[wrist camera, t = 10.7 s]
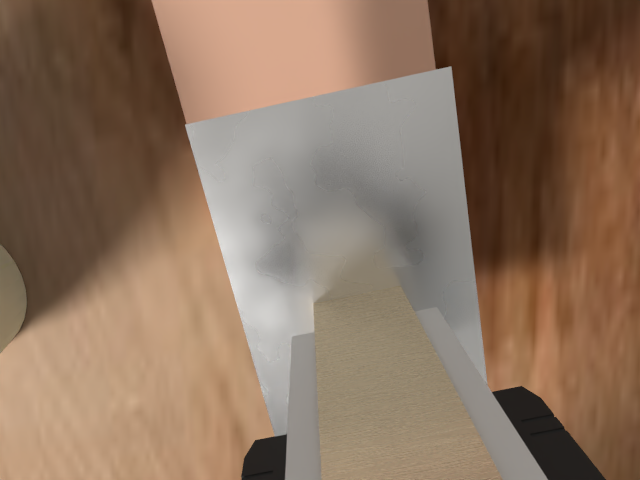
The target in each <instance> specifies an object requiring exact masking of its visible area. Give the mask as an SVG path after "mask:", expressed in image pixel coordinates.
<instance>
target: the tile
mask: <svg viewBox="0 0 640 480" xmlns="http://www.w3.org/2000/svg"><path fill="white" fill-rule="evenodd" d="M152 3H153V7H154V10H155V14H156V18H157V21H158V25H159V28H160V32H161V35H162V39H163V42H164V46H165V49H166V53H167V56H168V60H169V63H170V67H171V71H172V74H173V78H174V81H175V85H176V88H177V92H178V95H179V99H180V102H181V106H182V109H183V113H184V116H185V120H186V124H190V123H194V122H199V121H203V120H208V119H213V118H217V117H222V116H226V115H231V114H235V113H240V112H245V111H249V110H254V109H258V108H263V107H267V106H272V105H277V104H281V103H286V102H290V101H295V100H300V99H304V98H309V97H313V96H318V95H322V94H327V93H332V92H336V91H341V90H345V89H350V88H354V87H359V86H364V85H368V84H373V83H377V82H382V81H386V80H391V79H396V78H400V77H405V76H409V75H414V74H418V73H423V72H428V71H432V70H436V67H435V59H434V50H433V42H432V34H431V25H430V17H429V8H428V0H152Z"/></svg>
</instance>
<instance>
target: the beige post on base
mask: <svg viewBox="0 0 640 480" xmlns="http://www.w3.org/2000/svg"><path fill="white" fill-rule="evenodd" d="M185 127H186V130H187V134H188V137H189V141H190V144H191V148H192V151H193V155H194V158H195V162H196V165H197V168H198V172H199V175H200V179H201V182H202V186H203V189H204V193H205V196H206V200H207V203H208V206H209V210H210V213H211V217H212V220H213V224H214V227H215V231H216V234H217V238H218V241H219V244H220V248H221V251H222V255H223V258H224V262H225V265H226V269H227V272H228V276H229V279H230V282H231V286H232V289H233V293H234V296H235V300H236V303H237V307H238V310H239V314H240V317H241V320H242V324H243V327H244V331H245V334H246V338H247V341H248V345H249V348H250V351H251V355H252V358H253V362H254V365H255V369H256V372H257V376H258V379H259V383H260V386H261V389H262V393H263V396H264V400H265V403H266V407H267V410H268V414H269V417H270V421H271V424H272V427H273V431H274V434H275V436H280V435H285V434H287V427H288V406H289V384H290V363H291V342H292V336H297V335H302V334H307V333H312V332H315V352H316V373H317V393H318V414H319V435H320V455H321V476H322V480H503V479H502V477H501V475H500V473H499V472H498V470H497V468H496V466H495V464H494V462H493V460H492V458H491V456H490V454H489V453H488V451H487V449H486V447H485V445H484V443H483V441H482V439H481V437H480V435H479V433H478V432H477V430H476V428H475V426H474V424H473V422H472V420H471V418H470V416H469V414H468V413H467V411H466V409H465V407H464V405H463V403H462V401H461V399H460V397H459V395H458V393H457V392H456V390H455V388H454V386H453V384H452V382H451V380H450V378H449V376H448V374H447V373H446V371H445V369H444V367H443V365H442V363H441V361H440V359H439V357H438V355H437V354H436V352H435V350H434V348H433V346H432V344H431V342H430V340H429V338H428V336H427V334H426V333H425V331H424V329H423V327H422V325H421V323H420V321H419V319H418V317H417V315H416V314H415V311H420V310H424V309H429V308H434V307H437V308H438V309H439V311H440V313H441V314H442V316H443V317H444V319H445V320H446V322H447V323H448V325H449V327H450V328H451V330H452V331H453V333H454V334H455V336H456V337H457V339H458V341H459V342H460V344H461V345H462V347H463V348H464V350H465V351H466V353H467V355H468V356H469V358H470V359H471V361H472V362H473V364H474V365H475V367H476V369H477V370H478V372H479V373H480V375H481V376H482V378H483V379H484V381H485V383H486V384H487V377H486V368H485V359H484V350H483V342H482V333H481V324H480V315H479V306H478V297H477V288H476V280H475V271H474V262H473V253H472V244H471V235H470V227H469V218H468V209H467V200H466V191H465V182H464V173H463V165H462V156H461V147H460V138H459V129H458V120H457V112H456V103H455V94H454V85H453V76H452V67H451V66H450V67H446V68H441V69H437V70H432V71H428V72H423V73H418V74H414V75H409V76H405V77H400V78H396V79H391V80H386V81H382V82H377V83H373V84H368V85H364V86H359V87H354V88H350V89H345V90H341V91H336V92H332V93H327V94H322V95H318V96H313V97H309V98H304V99H300V100H295V101H290V102H286V103H281V104H277V105H272V106H267V107H263V108H258V109H254V110H249V111H245V112H240V113H235V114H231V115H226V116H222V117H217V118H213V119H208V120H203V121H199V122H194V123H190V124H185Z"/></svg>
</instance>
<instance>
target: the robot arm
mask: <svg viewBox="0 0 640 480" xmlns="http://www.w3.org/2000/svg"><path fill="white" fill-rule="evenodd" d="M415 314H416V315H417V317H418V319H419V321H420V323H421V325H422V327H423V329H424V331H425V333H426V334H427V336H428V338H429V340H430V342H431V344H432V346H433V348H434V350H435V352H436V354H437V355H438V357H439V359H440V361H441V363H442V365H443V367H444V369H445V371H446V373H447V374H448V376H449V378H450V380H451V382H452V384H453V386H454V388H455V390H456V392H457V393H458V395H459V397H460V399H461V401H462V403H463V405H464V407H465V409H466V411H467V413H468V414H469V416H470V418H471V420H472V422H473V424H474V426H475V428H476V430H477V432H478V433H479V435H480V437H481V439H482V441H483V443H484V445H485V447H486V449H487V451H488V453H489V454H490V456H491V458H492V460H493V462H494V464H495V466H496V468H497V470H498V472H499V473H500V475H501V477H502V479H503V480H606V479H605V478H604V477H603V476H602V474H601V473H600V472H599V471H598V469H597V468H596V467H595V466H594V464H593V463H592V462H591V460H590V459H589V458H588V457H587V455H586V454H585V453H584V452H583V450H582V449H581V448H580V447H579V445H578V444H577V443H576V442H575V440H574V439H573V438H572V437H571V435H570V434H569V433H568V432H567V431H565V429H564V426H563V425H562V424H561V423H560V421H559V420H558V419H557V418H556V417H554V414H553V413H552V411H551V410H550V409H549V408H548V406H547V405H546V404H545V403H544V401H543V400H542V399H541V398H540V397H538V396H537V395H535V394H534V393H532V392H530V391H529V390H527V389H525V388H524V387H522V386H520V387H515V388H510V389H505V390H500V391H495V392H491V390H490V389H489V387H488V386H487V384H486V383H485V381H484V379H483V378H482V376H481V375H480V373H479V372H478V370H477V369H476V367H475V365H474V364H473V362H472V361H471V359H470V358H469V356H468V355H467V353H466V351H465V350H464V348H463V347H462V345H461V344H460V342H459V341H458V339H457V337H456V336H455V334H454V333H453V331H452V330H451V328H450V327H449V325H448V323H447V322H446V320H445V319H444V317H443V316H442V314H441V313H440V311H439V309H438V308H437V307H434V308H429V309H424V310H420V311H415ZM241 477H242V480H322V476H321V455H320V435H319V414H318V393H317V373H316V352H315V332H312V333H307V334H302V335H297V336H292V342H291V363H290V384H289V406H288V427H287V434H285V435H280V436H275V437H270V438H265V439H260V440H255V442H254V443H253V445H252V446H251V448H250V450H249V451H248V453H247V455H246V456H245V458H244V464H243V470H242V476H241Z"/></svg>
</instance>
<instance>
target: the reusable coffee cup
mask: <svg viewBox="0 0 640 480" xmlns="http://www.w3.org/2000/svg"><path fill="white" fill-rule="evenodd" d="M26 308H27V298H26V289H25V285H24V281H23V278H22V275H21V273H20V271H19V269H18V267H17V265H16V263H15V261H14V260H13V259H12V257H11V256H10V255H9V253H8V252H7V251H6V249H5V248H4V247H3V246H2V245H1V244H0V353H1V352H2V351H3V350H4V349H5V348H6V346H7V345H8V344H9V343H10V342H11V341H12V339H13V338H14V337H15V335H16V334H17V333H18V332H19V330H20V328H21V326H22V323H23V321H24V319H25V313H26Z"/></svg>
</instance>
